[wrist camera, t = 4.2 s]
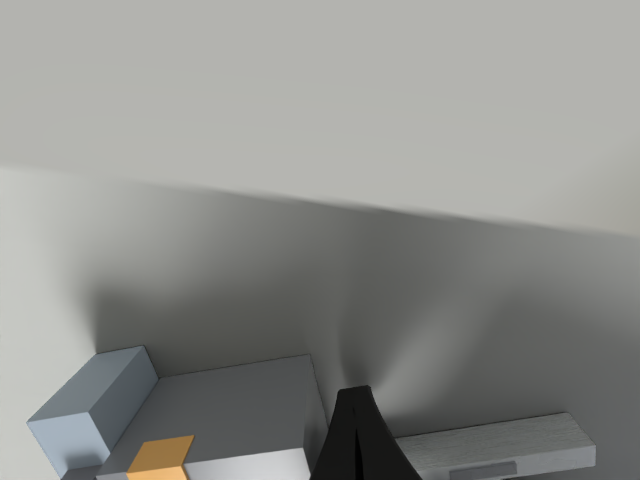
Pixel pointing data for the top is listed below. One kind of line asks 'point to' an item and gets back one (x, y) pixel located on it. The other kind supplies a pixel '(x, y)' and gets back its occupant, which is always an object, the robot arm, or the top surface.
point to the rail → (501, 449)
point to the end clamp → (93, 411)
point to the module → (226, 426)
